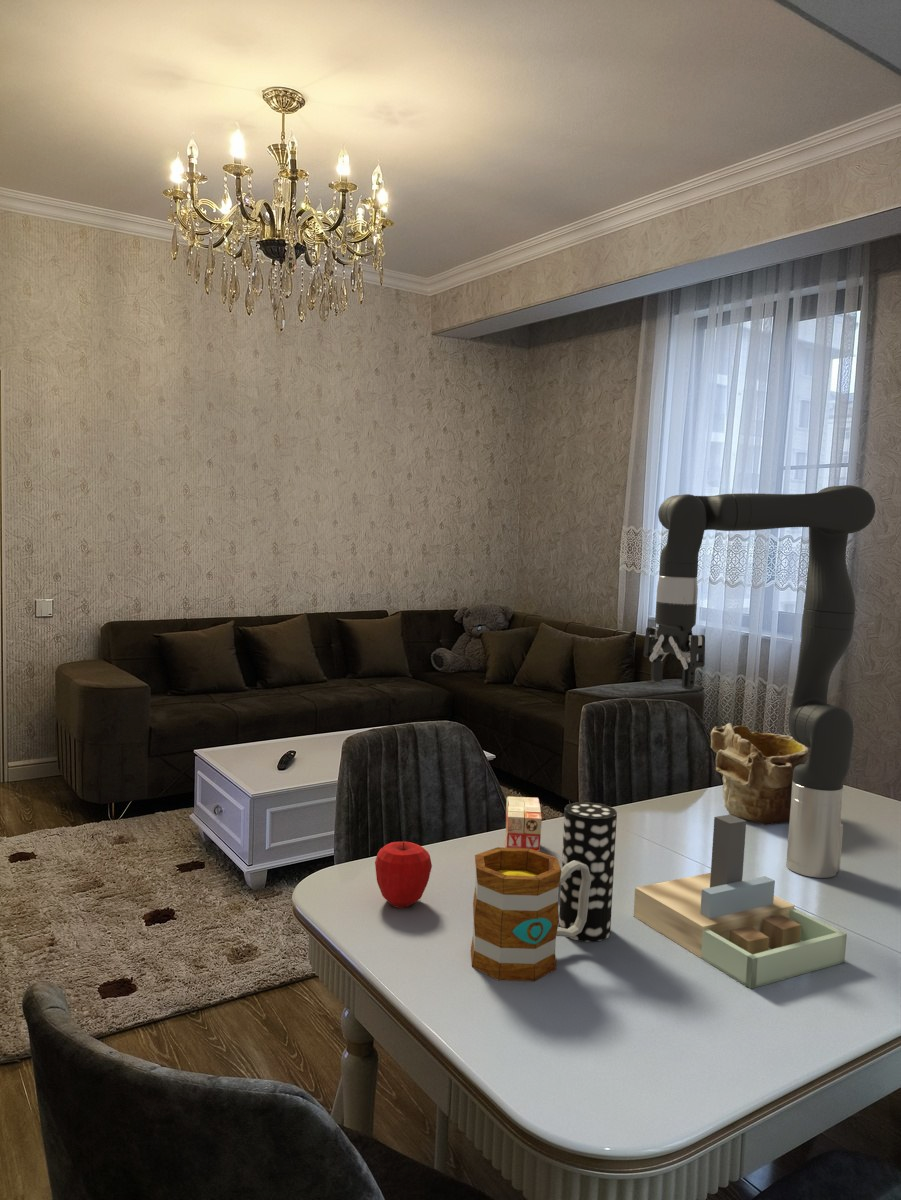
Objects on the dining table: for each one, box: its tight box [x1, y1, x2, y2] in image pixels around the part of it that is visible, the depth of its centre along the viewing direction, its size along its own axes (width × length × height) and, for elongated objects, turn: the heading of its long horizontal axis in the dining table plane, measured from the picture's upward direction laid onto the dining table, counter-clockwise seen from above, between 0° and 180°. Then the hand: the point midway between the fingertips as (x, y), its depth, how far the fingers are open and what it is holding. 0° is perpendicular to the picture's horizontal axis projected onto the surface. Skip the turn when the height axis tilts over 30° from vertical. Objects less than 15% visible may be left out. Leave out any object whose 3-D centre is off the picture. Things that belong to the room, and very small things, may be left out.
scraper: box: [700, 814, 776, 919], centre depth 144 cm, size 14×6×14 cm, turn 118°
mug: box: [470, 846, 591, 982], centre depth 134 cm, size 20×14×15 cm
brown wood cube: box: [762, 915, 801, 949], centre depth 141 cm, size 4×4×4 cm
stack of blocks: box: [504, 796, 543, 852], centre depth 174 cm, size 21×6×12 cm, turn 177°
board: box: [633, 872, 795, 959], centre depth 148 cm, size 20×16×5 cm
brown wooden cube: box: [729, 926, 769, 955], centre depth 136 cm, size 4×4×4 cm
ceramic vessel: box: [710, 722, 810, 826], centre depth 206 cm, size 23×24×25 cm
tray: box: [700, 907, 848, 990], centre depth 137 cm, size 20×10×4 cm, turn 118°
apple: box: [374, 841, 433, 909], centre depth 152 cm, size 10×10×11 cm
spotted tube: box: [558, 801, 618, 943], centre depth 144 cm, size 8×8×20 cm
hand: (671, 684), depth 170 cm, fingers open, 8 cm apart
